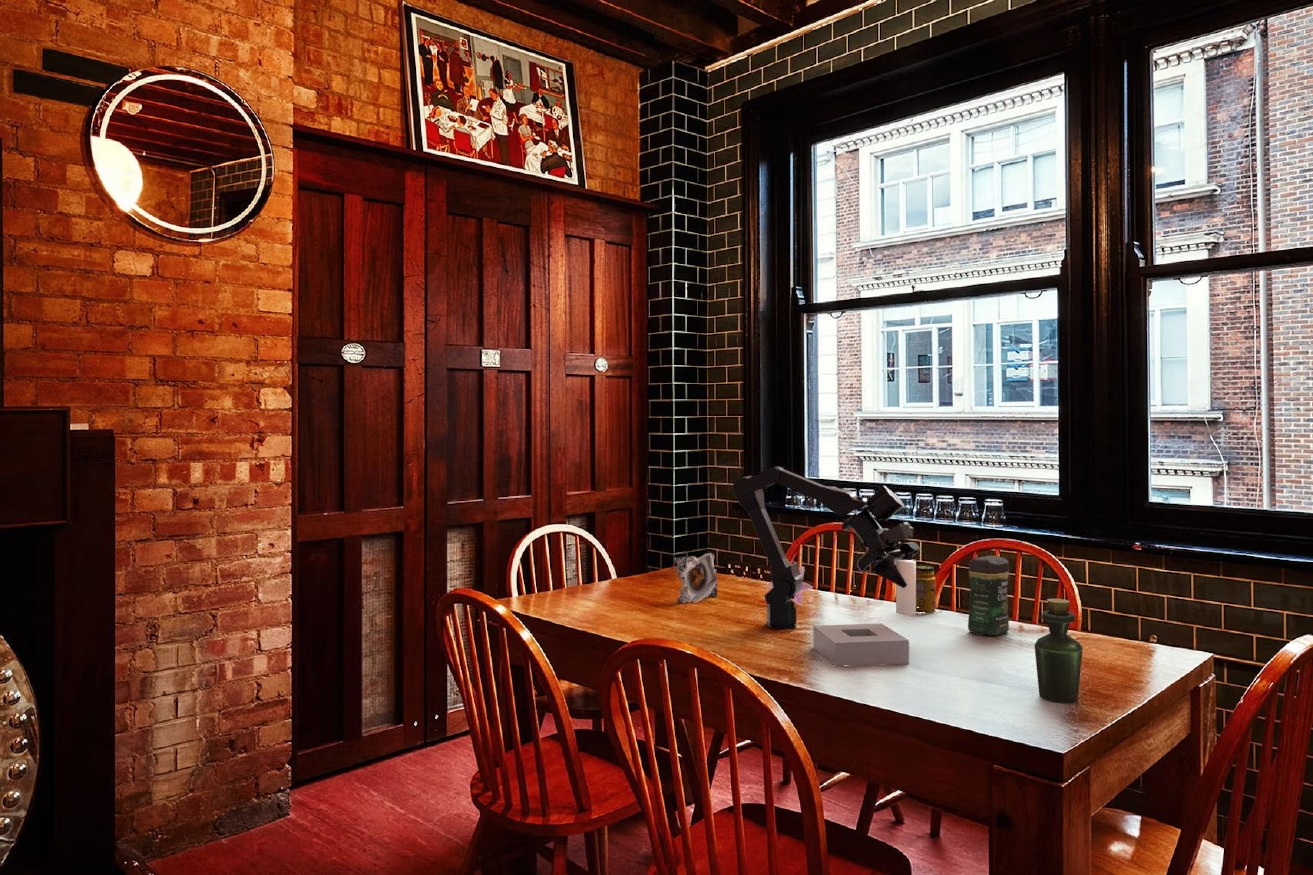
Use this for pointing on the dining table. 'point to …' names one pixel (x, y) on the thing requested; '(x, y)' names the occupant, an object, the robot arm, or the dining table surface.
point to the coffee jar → (988, 595)
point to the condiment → (925, 590)
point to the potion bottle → (1058, 656)
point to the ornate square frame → (696, 577)
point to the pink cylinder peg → (906, 588)
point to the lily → (799, 596)
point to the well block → (860, 644)
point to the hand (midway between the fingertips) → (911, 585)
